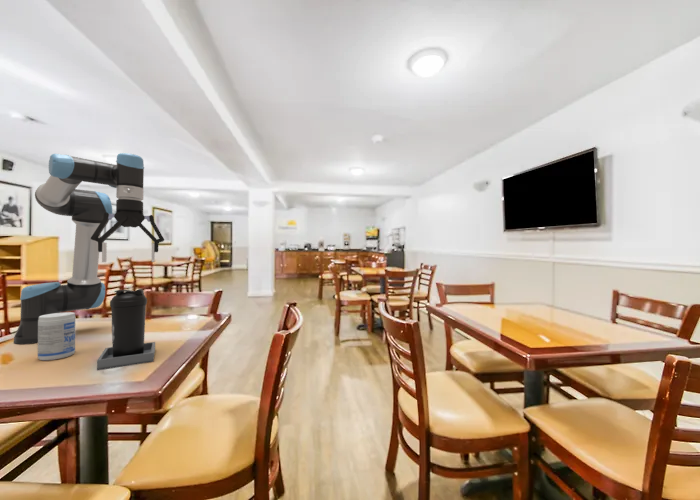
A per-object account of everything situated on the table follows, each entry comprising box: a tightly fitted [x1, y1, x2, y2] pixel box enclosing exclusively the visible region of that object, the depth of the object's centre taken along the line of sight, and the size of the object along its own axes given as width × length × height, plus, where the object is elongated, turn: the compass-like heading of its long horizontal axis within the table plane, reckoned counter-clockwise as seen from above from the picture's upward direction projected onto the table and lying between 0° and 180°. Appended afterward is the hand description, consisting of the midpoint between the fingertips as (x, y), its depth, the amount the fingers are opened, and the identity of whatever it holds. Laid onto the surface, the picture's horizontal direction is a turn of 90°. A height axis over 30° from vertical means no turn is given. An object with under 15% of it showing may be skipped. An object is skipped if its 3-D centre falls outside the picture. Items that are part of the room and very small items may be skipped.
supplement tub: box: [37, 311, 76, 361], centre depth 107 cm, size 10×10×15 cm
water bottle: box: [109, 288, 148, 358], centre depth 104 cm, size 10×10×23 cm
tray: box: [96, 341, 156, 371], centre depth 104 cm, size 15×15×3 cm
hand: (129, 262), depth 104 cm, fingers open, 13 cm apart
